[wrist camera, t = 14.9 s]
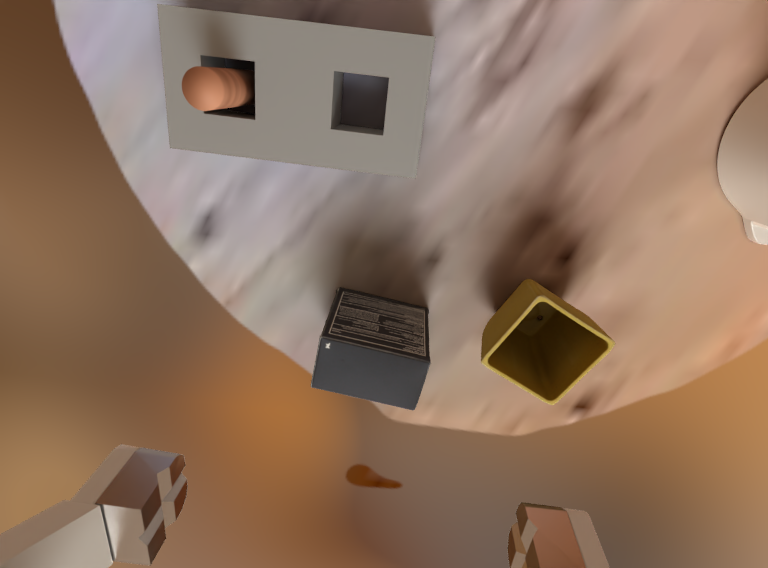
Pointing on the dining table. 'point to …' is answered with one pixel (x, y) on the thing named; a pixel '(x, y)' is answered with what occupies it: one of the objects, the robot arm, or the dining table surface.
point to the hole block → (297, 90)
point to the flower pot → (542, 342)
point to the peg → (218, 87)
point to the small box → (373, 349)
